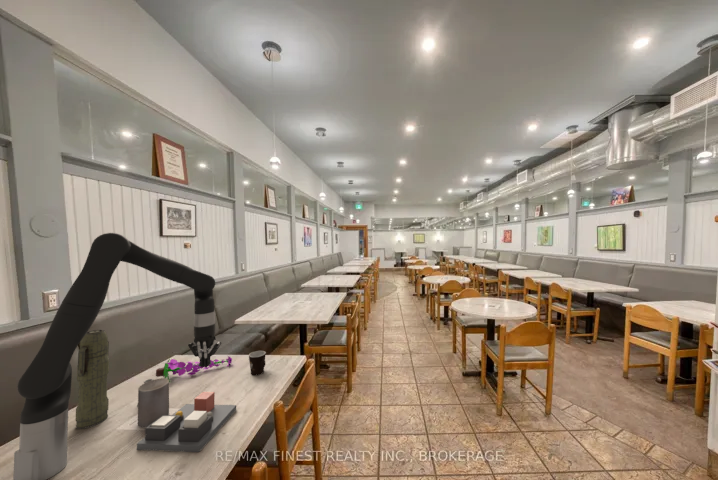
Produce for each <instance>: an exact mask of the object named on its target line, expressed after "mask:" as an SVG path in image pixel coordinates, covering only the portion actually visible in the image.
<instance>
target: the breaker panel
mask: <svg viewBox="0 0 718 480" xmlns="http://www.w3.org/2000/svg"><path fill="white" fill-rule="evenodd" d="M193 411H194V403H186V404H184V405H182V407H181V408H179V409H178V410H177V411H175V412H174V413H173V414H169V415H162V416H175V419H174V420H173V421H171V422H170V423H169V424H168V425H167V426H165V427H151V425H152V424H153V423H154V422H156V421H157V420H158V419H160V418H161V417H162V416H161V417H159V418H158V419H157V420H155V421H154V422H153V423H151V424H150V425H149V426H148V427H144V428H145V431H144V432H145V433H144V435H145V436H144V437H143V438H142V439H140V441H139V440H138V442H137V443H136V450H139V451H159V450H164V451H163V452H165V451H166V452H167V451H168V452H192V453H200V451H202V449H204V448H205V446H206V445H207V444H208V443H209V441H211V440H212V438H213V437H214V436H215V435H216V434H217V432H219V430H220V429H221V428H222V427H223V426H224V425H225V423H227V421H228V420H229V419H230V418H231V416H233V415H234V414H235V412H236V411H237V404H214V408H213V409H212V410H211V411H210V412H208V413H207V420H206V421H205V422H204V423H203V424H202V425H201V426H200V427H199V428H184V419H185V418H186V417H188V416H189V415H190V414H191V413H192V412H193Z"/></svg>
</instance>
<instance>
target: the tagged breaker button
mask: <svg viewBox="0 0 718 480" xmlns="http://www.w3.org/2000/svg"><path fill="white" fill-rule="evenodd" d="M174 419H175V416H162V417H161V418H160V419H158V420H157V421H156V422H154V423H153V424H152V425H151V427H165V426H167V425H168V424H169V423H170V422H171V421H173V420H174Z"/></svg>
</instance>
